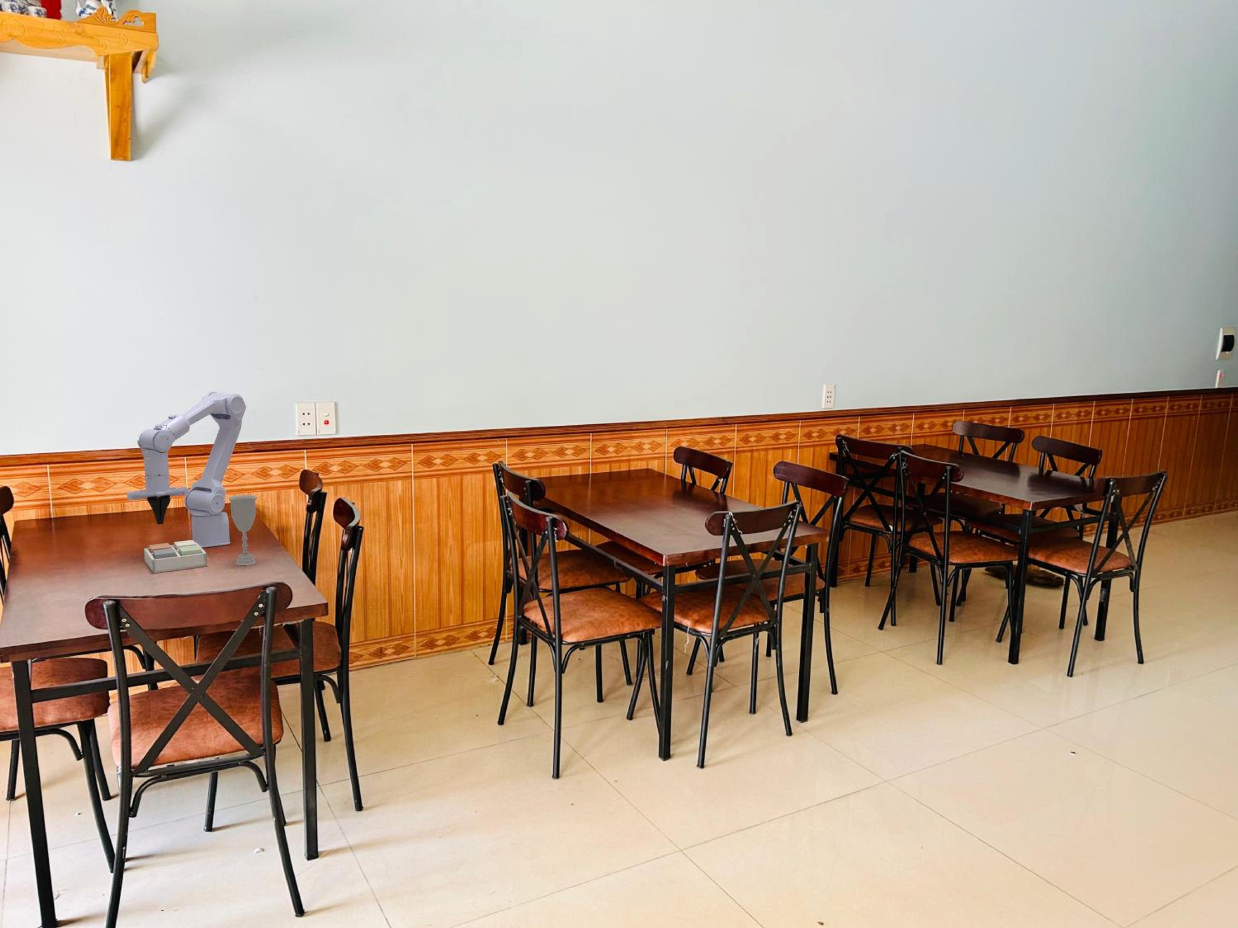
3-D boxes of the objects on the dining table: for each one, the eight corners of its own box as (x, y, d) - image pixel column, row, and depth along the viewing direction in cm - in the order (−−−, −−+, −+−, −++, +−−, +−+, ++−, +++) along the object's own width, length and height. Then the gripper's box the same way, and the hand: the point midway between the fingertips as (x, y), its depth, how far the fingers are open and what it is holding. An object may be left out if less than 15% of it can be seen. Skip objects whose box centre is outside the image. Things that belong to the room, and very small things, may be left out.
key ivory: (193, 548, 246) (192, 539, 246) (196, 552, 243) (196, 543, 242) (174, 550, 244) (174, 542, 243) (177, 555, 240) (177, 546, 240)
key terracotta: (168, 551, 243) (168, 542, 242) (171, 555, 239) (171, 546, 239) (149, 554, 240) (149, 545, 240) (152, 558, 237) (152, 549, 236)
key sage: (197, 554, 242) (197, 545, 241) (201, 558, 238) (201, 549, 238) (179, 556, 239) (178, 547, 238) (182, 560, 235) (182, 551, 235)
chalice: (265, 561, 244) (263, 496, 241) (247, 567, 238) (244, 501, 235) (243, 557, 246) (240, 493, 243) (225, 564, 240) (222, 498, 237)
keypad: (196, 554, 248) (196, 541, 248) (207, 566, 238) (206, 553, 237) (144, 560, 241) (143, 548, 240) (153, 573, 231) (152, 560, 230)
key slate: (172, 557, 238) (172, 548, 238) (176, 561, 234) (175, 552, 234) (153, 559, 235) (153, 550, 235) (156, 564, 232) (156, 554, 231)
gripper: (128, 479, 233) (132, 530, 236) (189, 474, 242) (192, 523, 244) (124, 474, 239) (128, 524, 241) (184, 469, 247) (186, 518, 250)
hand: (160, 523), depth 243 cm, fingers closed
